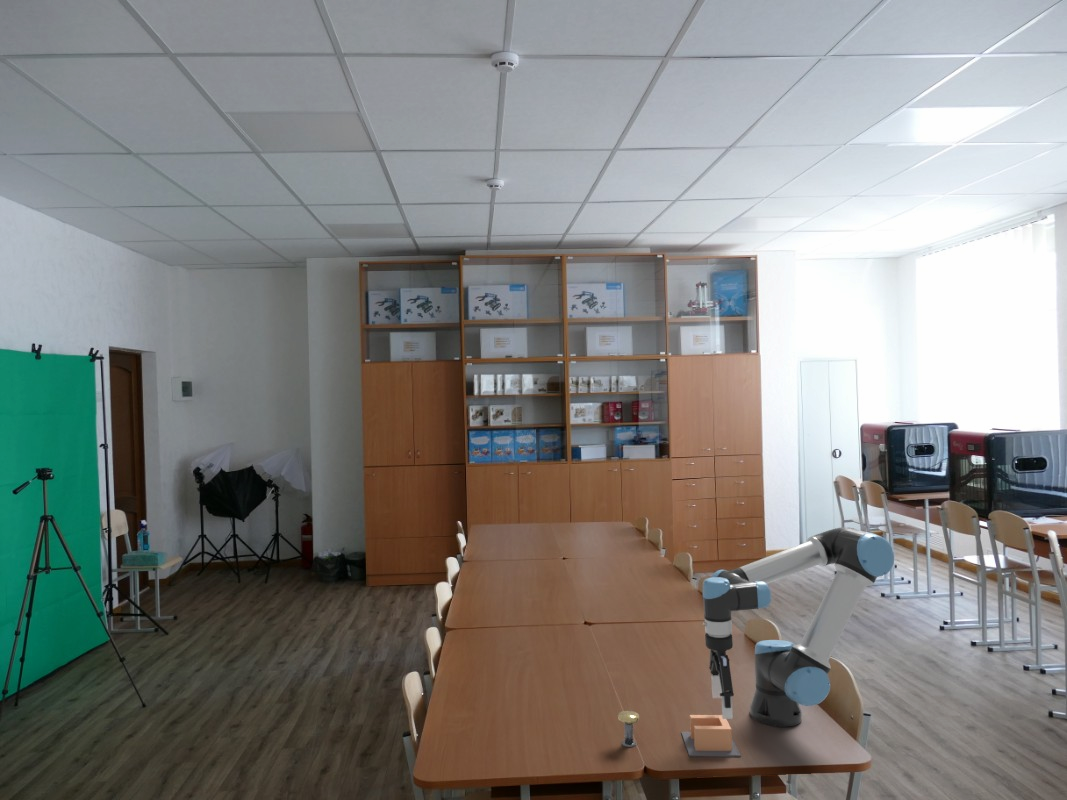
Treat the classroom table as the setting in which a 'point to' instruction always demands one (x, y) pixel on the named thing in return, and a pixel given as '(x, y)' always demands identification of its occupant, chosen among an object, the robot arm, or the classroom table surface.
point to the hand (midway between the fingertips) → (722, 707)
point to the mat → (693, 752)
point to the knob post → (628, 726)
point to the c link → (710, 733)
